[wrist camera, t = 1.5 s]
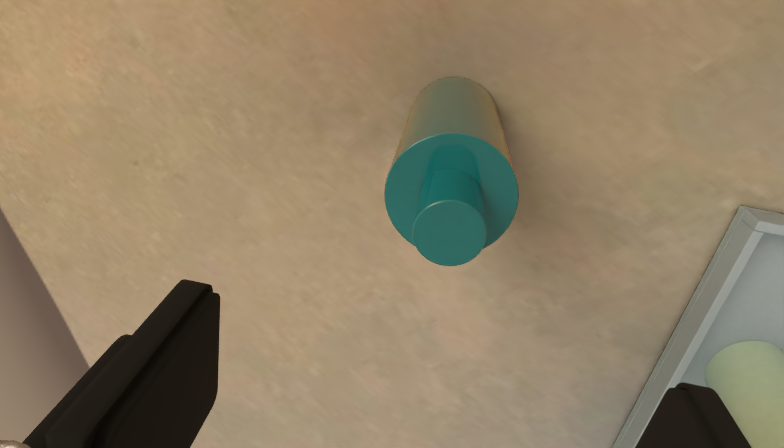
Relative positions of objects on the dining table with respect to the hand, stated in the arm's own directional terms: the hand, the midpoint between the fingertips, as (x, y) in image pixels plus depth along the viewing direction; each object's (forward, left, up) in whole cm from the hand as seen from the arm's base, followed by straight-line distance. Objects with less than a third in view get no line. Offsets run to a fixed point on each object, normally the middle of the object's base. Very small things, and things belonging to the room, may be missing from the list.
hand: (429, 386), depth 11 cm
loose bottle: (0, 0, -21) cm, 21 cm away
